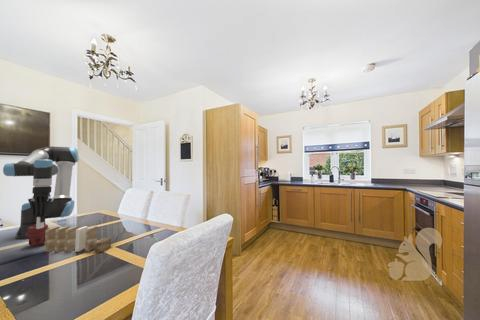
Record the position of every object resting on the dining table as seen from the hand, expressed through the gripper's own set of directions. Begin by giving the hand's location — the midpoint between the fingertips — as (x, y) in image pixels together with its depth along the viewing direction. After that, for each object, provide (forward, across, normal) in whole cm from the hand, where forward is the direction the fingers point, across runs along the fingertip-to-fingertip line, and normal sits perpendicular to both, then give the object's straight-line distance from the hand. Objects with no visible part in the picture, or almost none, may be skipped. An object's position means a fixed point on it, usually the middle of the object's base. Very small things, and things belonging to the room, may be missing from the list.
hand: (39, 228), depth 108 cm
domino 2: (+12, +12, 0) cm, 17 cm away
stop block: (+12, +35, 0) cm, 37 cm away
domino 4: (+12, +23, 0) cm, 26 cm away
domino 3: (+12, +18, 0) cm, 22 cm away
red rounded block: (+12, -8, +7) cm, 16 cm away
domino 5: (+12, +29, 0) cm, 31 cm away
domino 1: (+12, +7, 0) cm, 14 cm away
